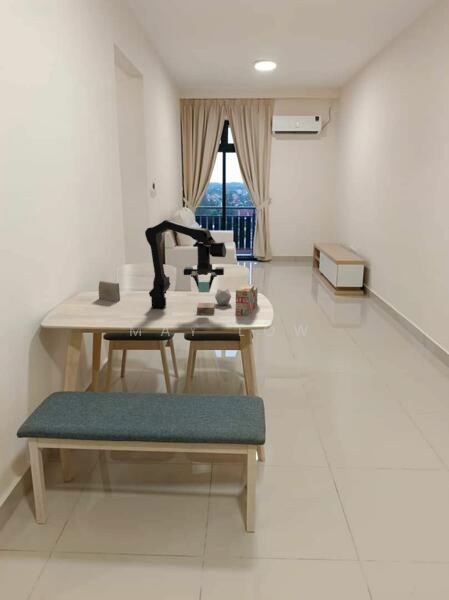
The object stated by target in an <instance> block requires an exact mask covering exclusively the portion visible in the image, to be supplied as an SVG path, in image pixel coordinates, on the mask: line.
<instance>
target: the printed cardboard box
mask: <svg viewBox="0 0 449 600" xmlns="http://www.w3.org/2000/svg"><path fill="white" fill-rule="evenodd" d="M257 305H258V286H255V285H254V284H246V283H245V284H243V283H242V284H240V286H239V287H238V288H237V289H236V290H235V313H234V314H235V316H244V315H245V316H250V315H251V313H252V311H253V310H254V309H255V308H256V306H257Z"/></svg>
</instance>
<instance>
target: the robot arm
mask: <svg viewBox="0 0 449 600" xmlns="http://www.w3.org/2000/svg"><path fill="white" fill-rule="evenodd" d="M168 230H170V231H172V232H176V233H179V234H182V235H185V236H187V237H190V238H191V239H193V240H194V241H195V243H194V244H193V245H192V247H193V248H194V247H197V248H196V249H197V264H196V268H194V267H192V266H186V267H184V269H183V276H190V278H193V279H194V281H195V284H196V287H197V288H198V282H199V280H200V279H199V276H201V275H203V276H207V275H208V274H210V276H209V277H210V278H209V280H210V285H209V289H210V290H211V288H212V284H213V282H214V279H215V278H216V277H218V276H224V274H225V268H224V267H221V266H217V267H215V268H213V264H212V263H211V257H212V258H226V255H227V248H226V245H225V242H224V241H223V242H216V240H215V239H214V238H213V236H212V234H211V231H210V229H208V228H202V227H192V226H189V225H186V224H182V223H179V222H175V221H173V220H171V219H165V220H163V221H161V222H160V223H159V224H157V225H154V226H151V227H148V228H147V229H146V230H145V231H144V235H145V238H146V241H147V243H148V244H149V246H150V251H151V252H150V253H151V257H152V264H153V272H154V277H153V281H152V282H153V283H152V289H151V290H150V291H149V292H148V295H149V297H150V298H151V299H150V301H151V307H150V309H151V310H152V309H161V310H162V309H163V310H164V309H165V308H166V306H167V297H166V294H167V291H168V290H169V289H170V286H171V282H170V276H167V275H166V274H165V269H164V263H163V262H164V261H163V254H162V246H161V245H162V240H163V234H164V233H165V232H166V231H168Z"/></svg>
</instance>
